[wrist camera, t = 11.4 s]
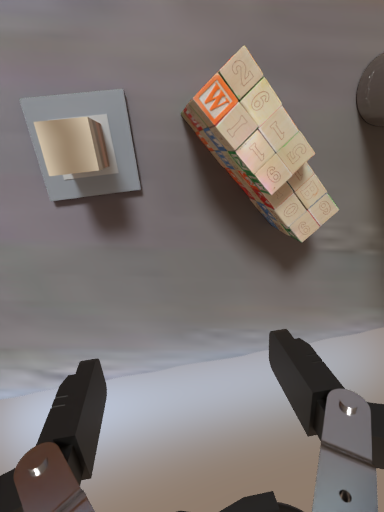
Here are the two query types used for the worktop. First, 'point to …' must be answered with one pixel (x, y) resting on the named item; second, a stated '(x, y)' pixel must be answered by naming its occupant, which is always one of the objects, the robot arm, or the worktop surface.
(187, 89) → the worktop surface
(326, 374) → the robot arm
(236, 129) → the stack of blocks
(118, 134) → the base plate
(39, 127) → the cream and brown block
